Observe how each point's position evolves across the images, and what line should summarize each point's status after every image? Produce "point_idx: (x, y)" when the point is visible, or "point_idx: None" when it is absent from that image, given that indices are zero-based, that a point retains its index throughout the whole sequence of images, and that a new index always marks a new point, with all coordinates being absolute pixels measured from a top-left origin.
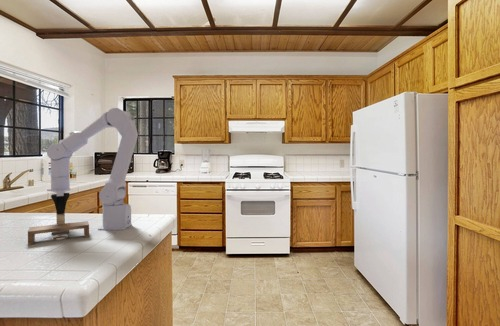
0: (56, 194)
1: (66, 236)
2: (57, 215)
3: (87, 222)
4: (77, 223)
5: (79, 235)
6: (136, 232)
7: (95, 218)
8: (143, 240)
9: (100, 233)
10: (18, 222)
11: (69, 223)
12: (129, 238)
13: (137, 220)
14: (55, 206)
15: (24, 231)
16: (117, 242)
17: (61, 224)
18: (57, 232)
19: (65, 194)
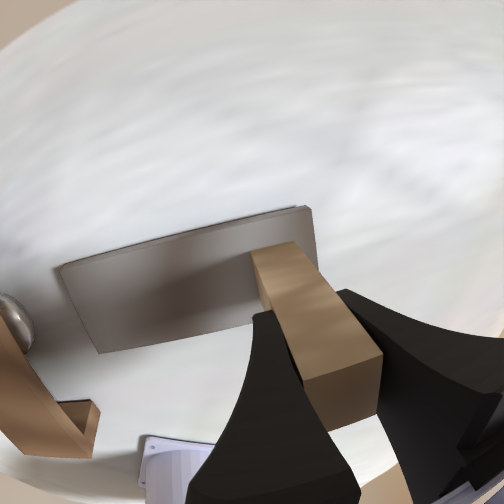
0: (494, 429)
1: None
2: (269, 300)
3: (62, 455)
4: (37, 427)
5: (64, 385)
6: (108, 495)
7: None
8: (36, 487)
9: (96, 440)
10: (491, 10)
11: (30, 400)
12: (46, 477)
13: None
14: (247, 370)
15: (255, 34)
16: (8, 455)
17: (4, 368)
18: (74, 298)
19: (428, 496)
